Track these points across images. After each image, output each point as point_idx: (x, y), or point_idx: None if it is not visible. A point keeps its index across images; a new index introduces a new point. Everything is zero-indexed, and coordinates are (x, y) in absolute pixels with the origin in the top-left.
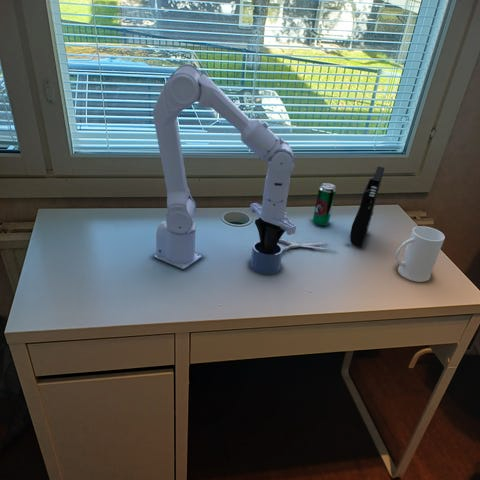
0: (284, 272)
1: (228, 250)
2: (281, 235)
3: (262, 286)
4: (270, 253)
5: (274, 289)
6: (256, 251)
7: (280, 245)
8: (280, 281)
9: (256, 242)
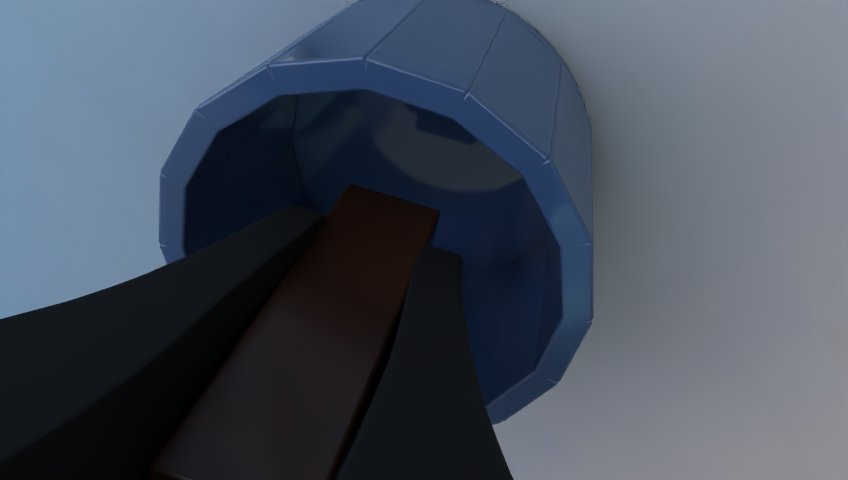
0: (664, 111)
1: (23, 139)
2: (500, 471)
3: (599, 416)
4: (432, 239)
5: (709, 404)
6: None
7: (454, 90)
8: (703, 281)
9: (171, 255)
